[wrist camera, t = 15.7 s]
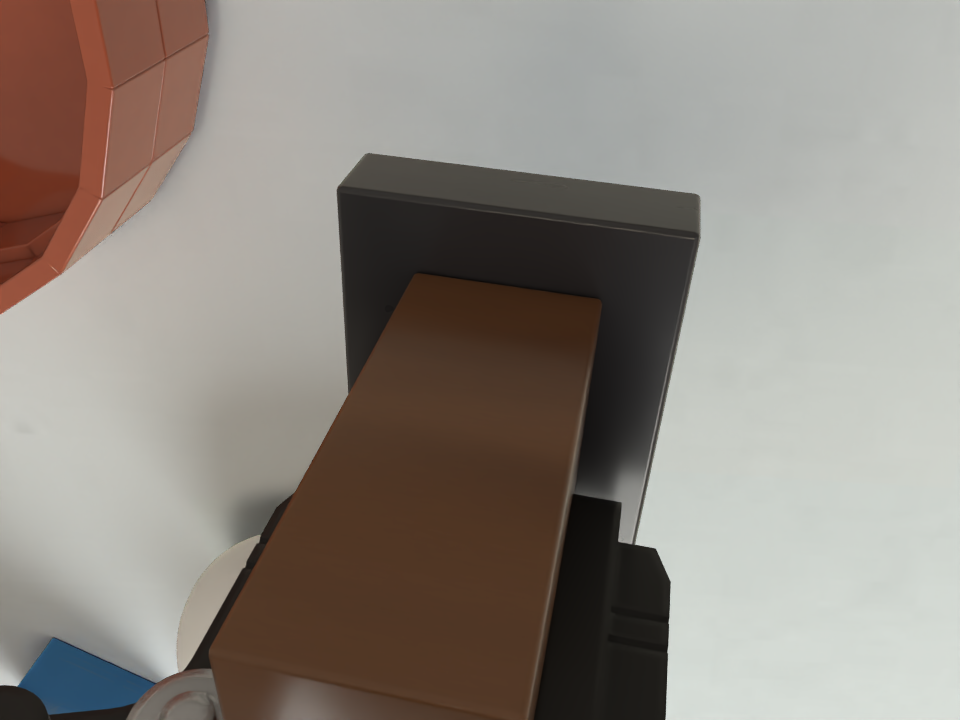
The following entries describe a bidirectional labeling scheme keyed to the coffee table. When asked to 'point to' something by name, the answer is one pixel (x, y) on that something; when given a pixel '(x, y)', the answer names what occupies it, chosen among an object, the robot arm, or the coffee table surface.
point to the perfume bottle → (80, 681)
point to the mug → (209, 598)
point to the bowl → (88, 123)
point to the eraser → (462, 440)
